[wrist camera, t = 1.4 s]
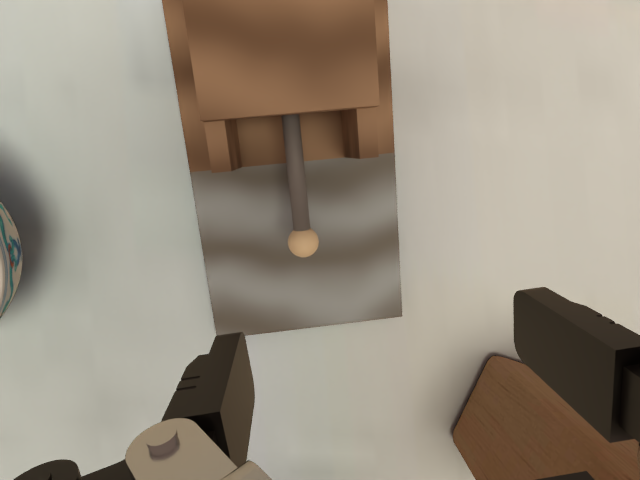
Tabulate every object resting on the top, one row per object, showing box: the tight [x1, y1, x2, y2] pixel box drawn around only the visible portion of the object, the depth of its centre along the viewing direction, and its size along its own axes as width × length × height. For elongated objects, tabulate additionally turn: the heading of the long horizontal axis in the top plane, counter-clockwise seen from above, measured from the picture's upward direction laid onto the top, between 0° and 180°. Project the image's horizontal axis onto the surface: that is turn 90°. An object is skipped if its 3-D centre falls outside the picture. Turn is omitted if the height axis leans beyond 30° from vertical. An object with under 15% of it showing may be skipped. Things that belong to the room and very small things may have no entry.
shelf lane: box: [162, 0, 402, 336], centre depth 28 cm, size 26×16×9 cm, turn 5°
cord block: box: [281, 114, 319, 257], centre depth 28 cm, size 18×6×5 cm, turn 5°
